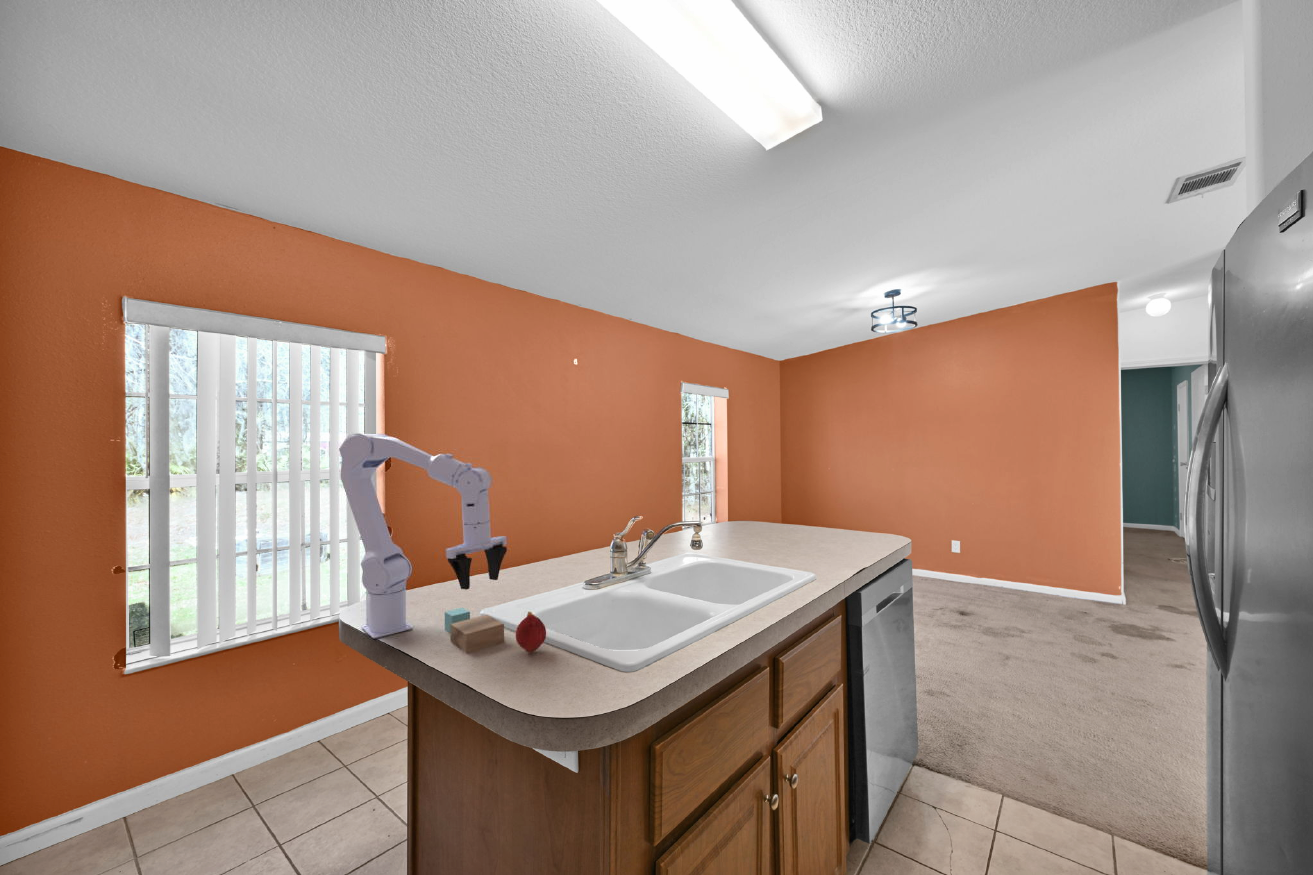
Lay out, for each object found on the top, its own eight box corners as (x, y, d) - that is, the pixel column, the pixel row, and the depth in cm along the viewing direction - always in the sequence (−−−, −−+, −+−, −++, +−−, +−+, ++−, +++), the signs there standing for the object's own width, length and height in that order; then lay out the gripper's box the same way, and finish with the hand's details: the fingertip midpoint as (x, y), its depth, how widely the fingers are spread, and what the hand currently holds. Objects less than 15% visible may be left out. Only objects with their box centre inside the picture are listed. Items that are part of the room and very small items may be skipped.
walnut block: (450, 643, 104) (450, 623, 104) (487, 632, 110) (487, 614, 110) (466, 654, 98) (466, 634, 98) (504, 642, 104) (504, 623, 104)
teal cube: (444, 629, 111) (444, 611, 111) (462, 625, 114) (462, 607, 114) (452, 634, 108) (451, 616, 108) (470, 629, 111) (469, 611, 111)
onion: (550, 646, 101) (549, 607, 101) (540, 659, 95) (540, 617, 95) (522, 646, 101) (521, 606, 101) (511, 658, 96) (510, 616, 96)
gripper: (459, 529, 102) (463, 595, 102) (514, 518, 115) (517, 577, 114) (438, 527, 106) (442, 591, 106) (493, 517, 118) (496, 574, 118)
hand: (479, 584), depth 110 cm, fingers open, 7 cm apart
